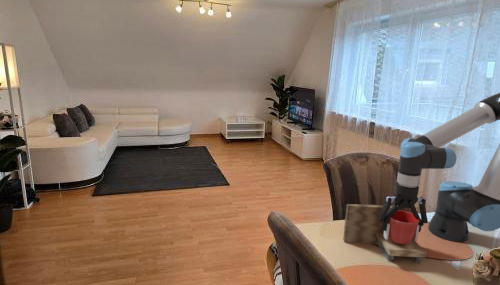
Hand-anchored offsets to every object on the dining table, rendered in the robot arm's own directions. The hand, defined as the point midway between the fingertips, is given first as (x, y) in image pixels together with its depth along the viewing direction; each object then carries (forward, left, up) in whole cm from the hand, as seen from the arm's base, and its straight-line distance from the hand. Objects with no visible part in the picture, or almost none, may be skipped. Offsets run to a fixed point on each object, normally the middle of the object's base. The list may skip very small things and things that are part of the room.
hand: (399, 238), depth 122 cm
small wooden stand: (0, +1, -6) cm, 6 cm away
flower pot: (0, 0, -1) cm, 1 cm away
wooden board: (+6, -7, -6) cm, 11 cm away
